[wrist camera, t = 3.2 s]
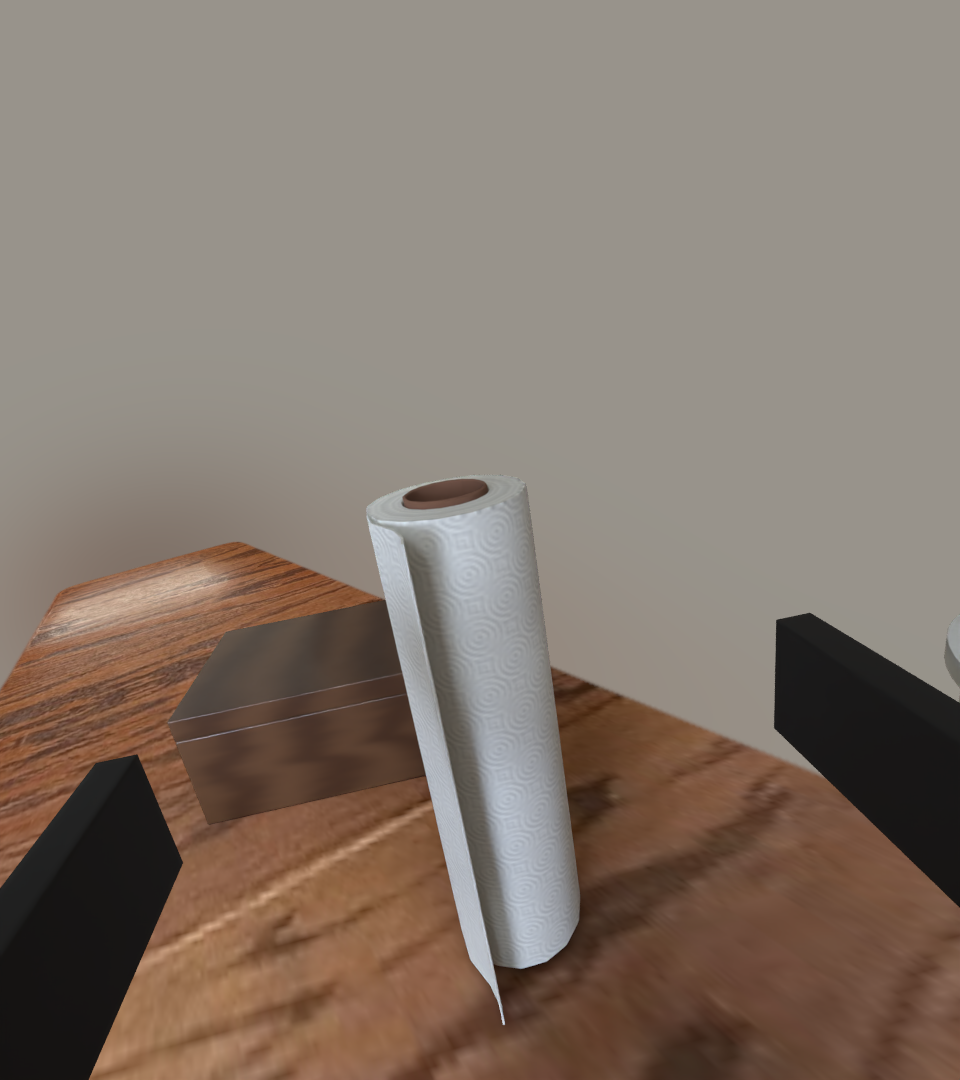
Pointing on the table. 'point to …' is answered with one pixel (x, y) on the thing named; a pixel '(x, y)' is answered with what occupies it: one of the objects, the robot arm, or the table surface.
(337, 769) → the drawer box
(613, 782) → the table surface
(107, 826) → the robot arm
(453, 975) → the table surface
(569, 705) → the table surface
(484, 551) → the paper towel roll
